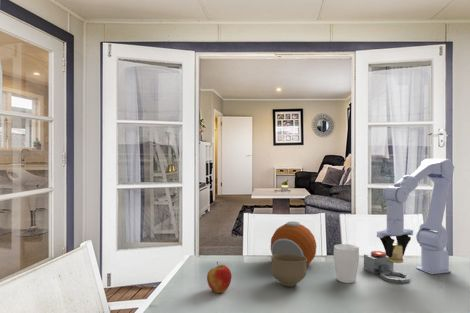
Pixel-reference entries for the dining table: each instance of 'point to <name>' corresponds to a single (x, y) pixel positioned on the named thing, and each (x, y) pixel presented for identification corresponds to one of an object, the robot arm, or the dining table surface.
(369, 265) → the red button switch
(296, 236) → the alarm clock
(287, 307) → the dining table surface
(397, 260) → the knob
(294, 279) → the bowl
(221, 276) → the apple
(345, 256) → the cup
